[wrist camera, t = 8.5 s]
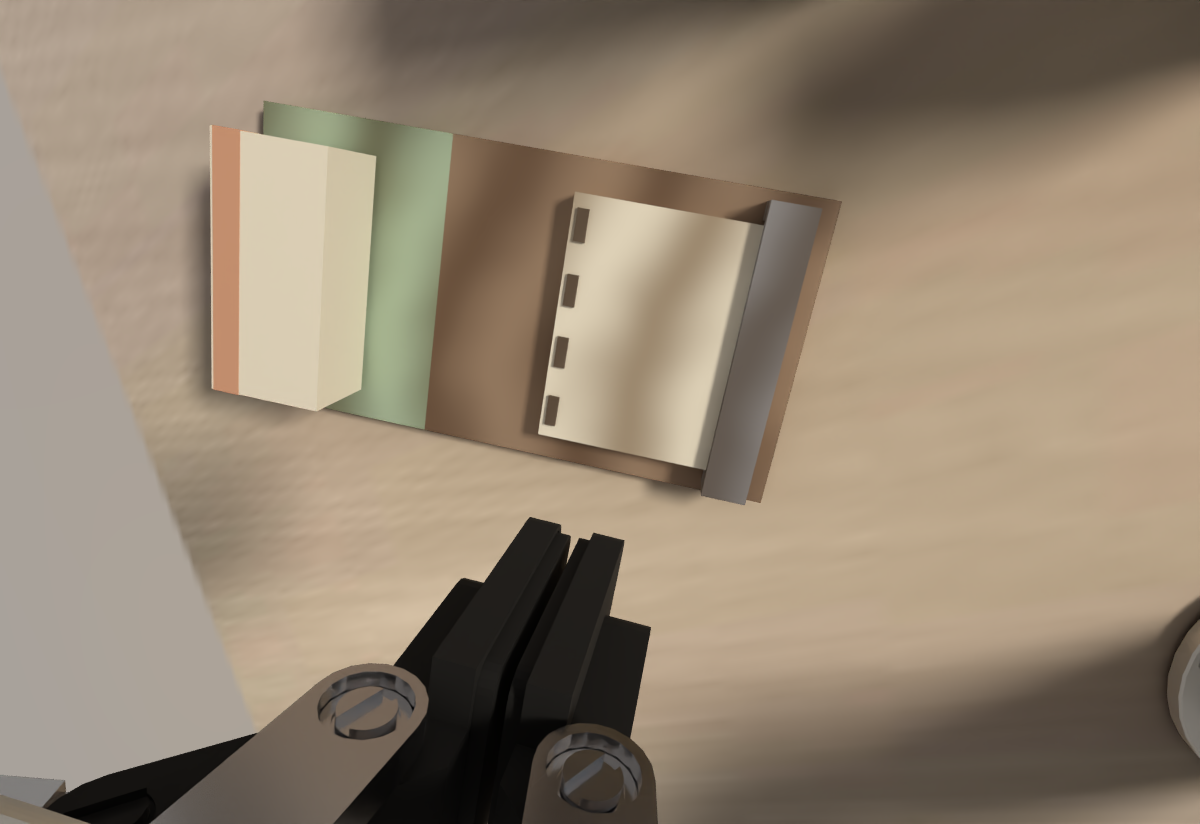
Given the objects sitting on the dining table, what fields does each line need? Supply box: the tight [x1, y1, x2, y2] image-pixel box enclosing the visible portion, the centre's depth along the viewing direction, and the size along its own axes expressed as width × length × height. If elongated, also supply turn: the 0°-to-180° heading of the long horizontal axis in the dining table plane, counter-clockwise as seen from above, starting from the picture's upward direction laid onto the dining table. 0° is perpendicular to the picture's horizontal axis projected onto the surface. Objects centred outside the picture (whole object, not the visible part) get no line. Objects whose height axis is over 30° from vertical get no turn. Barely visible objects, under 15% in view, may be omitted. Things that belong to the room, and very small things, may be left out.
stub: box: [210, 125, 376, 411], centre depth 29 cm, size 5×11×4 cm, turn 170°
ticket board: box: [263, 101, 842, 505], centre depth 30 cm, size 26×14×3 cm, turn 80°
